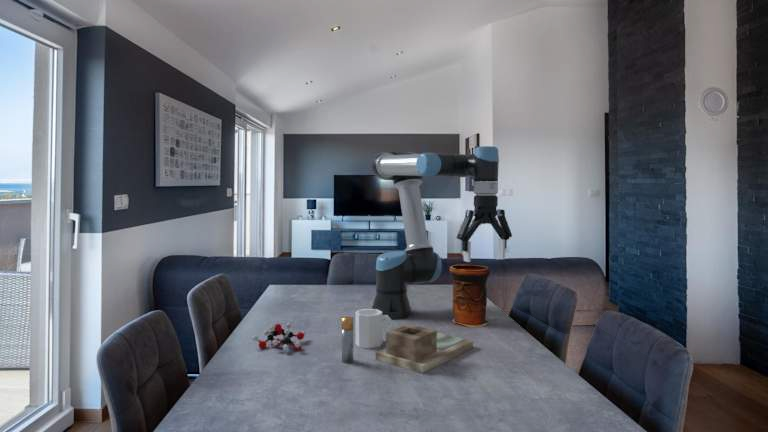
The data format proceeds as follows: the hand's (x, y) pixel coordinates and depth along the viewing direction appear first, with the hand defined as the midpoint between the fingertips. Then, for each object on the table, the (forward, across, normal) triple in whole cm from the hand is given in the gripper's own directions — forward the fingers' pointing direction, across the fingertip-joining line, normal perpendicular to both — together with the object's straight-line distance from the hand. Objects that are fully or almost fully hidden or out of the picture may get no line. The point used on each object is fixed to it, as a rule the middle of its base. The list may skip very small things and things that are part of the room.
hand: (484, 260), depth 151 cm
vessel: (+25, +4, +14) cm, 29 cm away
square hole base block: (+24, -26, -8) cm, 37 cm away
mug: (+25, -36, +6) cm, 44 cm away
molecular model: (+25, -62, +16) cm, 69 cm away
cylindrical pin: (+24, -49, -4) cm, 55 cm away
